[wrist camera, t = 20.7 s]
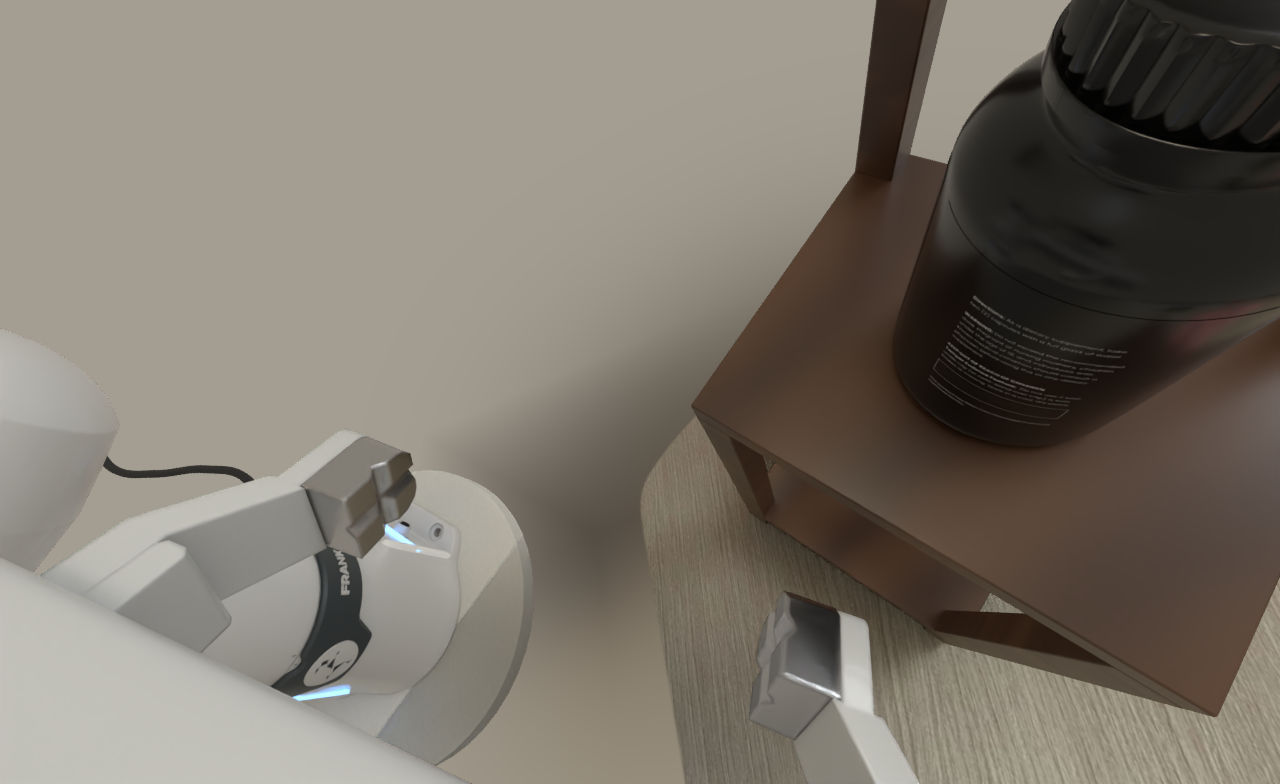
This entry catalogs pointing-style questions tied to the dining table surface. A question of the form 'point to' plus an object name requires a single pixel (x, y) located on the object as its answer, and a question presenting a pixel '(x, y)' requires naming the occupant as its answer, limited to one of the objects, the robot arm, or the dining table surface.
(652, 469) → the dining table surface
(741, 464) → the shelf
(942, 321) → the supplement bottle
